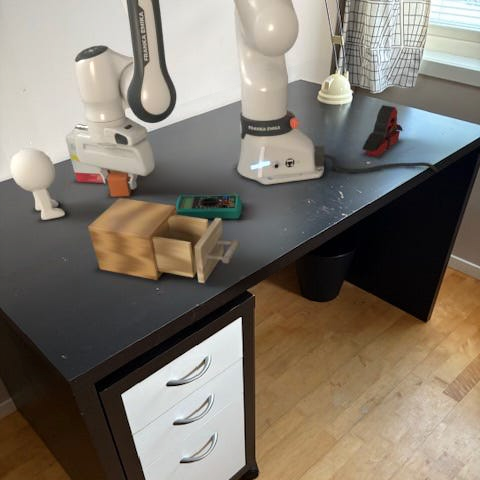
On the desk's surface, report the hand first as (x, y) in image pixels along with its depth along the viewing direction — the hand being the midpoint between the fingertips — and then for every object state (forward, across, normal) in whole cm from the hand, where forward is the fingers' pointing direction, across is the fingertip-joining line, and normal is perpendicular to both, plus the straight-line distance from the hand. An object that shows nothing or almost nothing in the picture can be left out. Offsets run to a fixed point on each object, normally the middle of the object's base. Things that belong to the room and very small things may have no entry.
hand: (120, 185), depth 117 cm
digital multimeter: (+2, +25, -1) cm, 25 cm away
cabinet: (+2, +21, -22) cm, 31 cm away
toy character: (+2, -10, -15) cm, 18 cm away
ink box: (+2, -12, +5) cm, 13 cm away
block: (+2, 0, 0) cm, 2 cm away
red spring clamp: (+2, +53, +49) cm, 72 cm away
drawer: (+1, +33, -21) cm, 39 cm away
